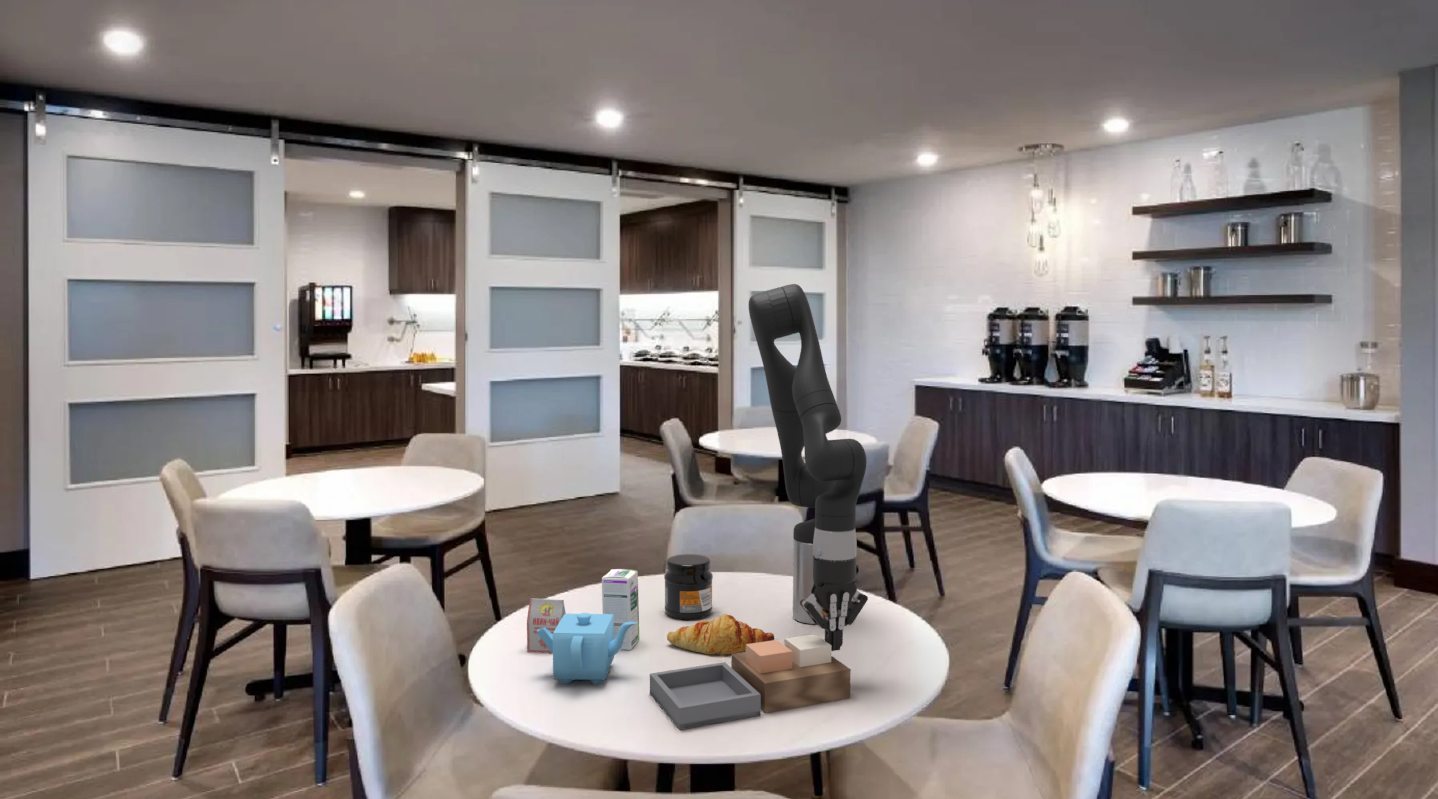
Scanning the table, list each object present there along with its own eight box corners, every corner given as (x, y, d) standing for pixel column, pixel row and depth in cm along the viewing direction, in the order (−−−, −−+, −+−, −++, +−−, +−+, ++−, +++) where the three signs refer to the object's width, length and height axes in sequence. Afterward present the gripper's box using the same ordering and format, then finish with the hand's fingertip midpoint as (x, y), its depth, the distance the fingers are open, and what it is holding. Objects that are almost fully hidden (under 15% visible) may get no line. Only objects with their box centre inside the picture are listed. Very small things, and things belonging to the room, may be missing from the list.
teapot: (547, 659, 172) (546, 600, 171) (642, 660, 172) (642, 601, 171) (527, 693, 156) (526, 629, 155) (632, 695, 156) (631, 630, 155)
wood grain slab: (811, 668, 168) (811, 642, 167) (850, 697, 155) (850, 669, 154) (731, 681, 162) (731, 654, 161) (764, 713, 149) (765, 683, 148)
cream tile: (814, 650, 163) (814, 634, 163) (831, 662, 157) (831, 645, 157) (784, 655, 161) (784, 638, 160) (800, 667, 155) (800, 650, 155)
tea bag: (534, 645, 180) (533, 595, 179) (567, 647, 179) (566, 597, 178) (527, 651, 176) (526, 601, 175) (561, 653, 175) (560, 603, 174)
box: (725, 681, 162) (725, 662, 161) (760, 715, 148) (760, 694, 148) (649, 693, 156) (649, 673, 156) (679, 729, 143) (679, 708, 142)
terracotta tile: (776, 656, 160) (777, 639, 160) (792, 668, 155) (792, 651, 154) (745, 661, 158) (745, 644, 158) (760, 673, 152) (760, 656, 152)
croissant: (665, 668, 177) (661, 639, 173) (670, 629, 185) (667, 601, 181) (774, 669, 175) (773, 640, 171) (775, 630, 184) (774, 601, 179)
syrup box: (631, 650, 176) (630, 577, 175) (602, 648, 178) (601, 575, 176) (639, 640, 182) (639, 569, 181) (611, 638, 183) (610, 567, 182)
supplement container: (715, 620, 194) (715, 565, 193) (666, 622, 193) (666, 566, 192) (709, 604, 205) (709, 552, 204) (662, 606, 203) (662, 554, 202)
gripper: (856, 544, 165) (854, 637, 167) (791, 551, 160) (790, 647, 162) (878, 554, 158) (877, 651, 160) (811, 562, 153) (810, 661, 155)
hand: (833, 649), depth 161 cm, fingers closed
